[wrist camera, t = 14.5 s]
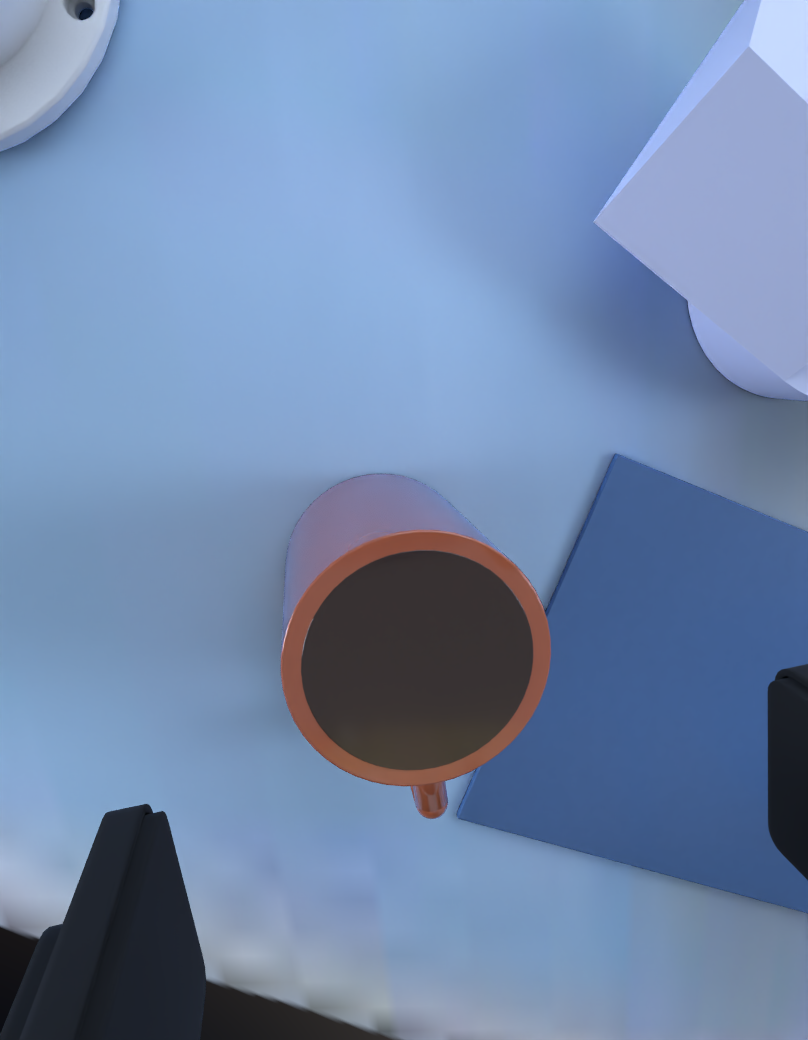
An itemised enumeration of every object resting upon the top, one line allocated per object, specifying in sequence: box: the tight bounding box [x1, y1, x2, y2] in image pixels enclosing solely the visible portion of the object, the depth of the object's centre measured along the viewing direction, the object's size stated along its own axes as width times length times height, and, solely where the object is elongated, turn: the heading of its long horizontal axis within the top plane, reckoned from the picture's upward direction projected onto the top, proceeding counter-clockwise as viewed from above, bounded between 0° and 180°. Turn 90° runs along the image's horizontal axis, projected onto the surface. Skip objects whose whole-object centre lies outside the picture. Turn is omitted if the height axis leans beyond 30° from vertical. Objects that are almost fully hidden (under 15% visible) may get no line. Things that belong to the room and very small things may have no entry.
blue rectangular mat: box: [457, 454, 808, 913], centre depth 31 cm, size 20×16×1 cm
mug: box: [281, 474, 551, 819], centre depth 23 cm, size 10×7×9 cm
